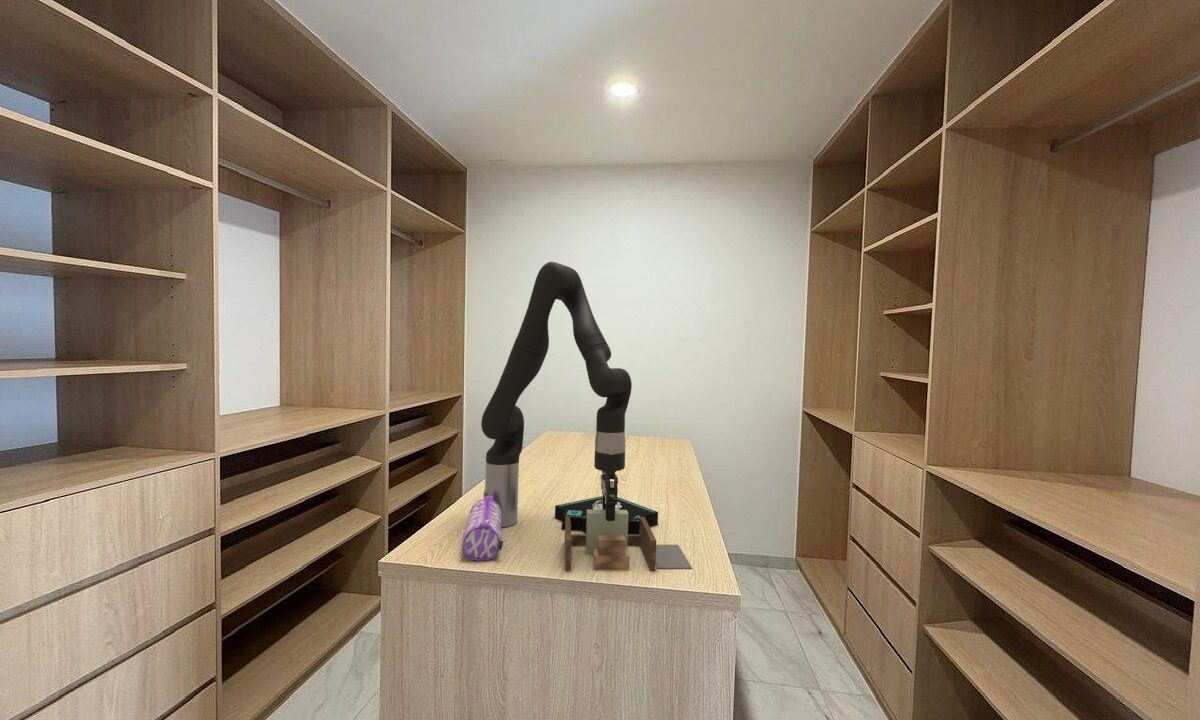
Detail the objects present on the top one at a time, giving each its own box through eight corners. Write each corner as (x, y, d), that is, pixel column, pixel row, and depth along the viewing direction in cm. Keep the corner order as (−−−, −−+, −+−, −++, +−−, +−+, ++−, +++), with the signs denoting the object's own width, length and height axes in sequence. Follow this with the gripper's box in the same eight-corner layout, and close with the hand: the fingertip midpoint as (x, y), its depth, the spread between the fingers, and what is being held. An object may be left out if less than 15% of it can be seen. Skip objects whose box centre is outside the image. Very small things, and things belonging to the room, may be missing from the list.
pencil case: (502, 563, 120) (503, 522, 120) (461, 565, 118) (462, 523, 118) (500, 529, 142) (501, 495, 141) (465, 531, 140) (466, 496, 139)
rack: (565, 570, 116) (566, 539, 116) (564, 543, 132) (565, 516, 132) (655, 570, 118) (656, 540, 118) (643, 544, 134) (644, 517, 134)
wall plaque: (658, 545, 134) (657, 510, 164) (658, 530, 134) (657, 497, 164) (544, 537, 137) (563, 504, 167) (544, 522, 137) (563, 491, 167)
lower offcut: (593, 570, 118) (594, 555, 117) (593, 564, 121) (593, 549, 121) (629, 571, 118) (629, 555, 118) (627, 564, 122) (627, 549, 121)
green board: (586, 554, 126) (587, 513, 126) (585, 549, 129) (586, 509, 129) (627, 554, 127) (628, 513, 127) (625, 549, 130) (626, 510, 130)
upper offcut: (598, 555, 118) (599, 540, 117) (597, 549, 121) (598, 534, 121) (625, 555, 118) (625, 540, 118) (623, 549, 121) (623, 534, 121)
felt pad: (657, 568, 119) (657, 567, 119) (647, 545, 133) (647, 544, 133) (692, 568, 120) (692, 567, 120) (678, 545, 134) (678, 544, 134)
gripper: (592, 444, 135) (591, 506, 135) (597, 455, 120) (595, 524, 121) (621, 444, 135) (619, 506, 135) (629, 455, 121) (627, 524, 121)
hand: (608, 514), depth 128 cm, fingers open, 8 cm apart
